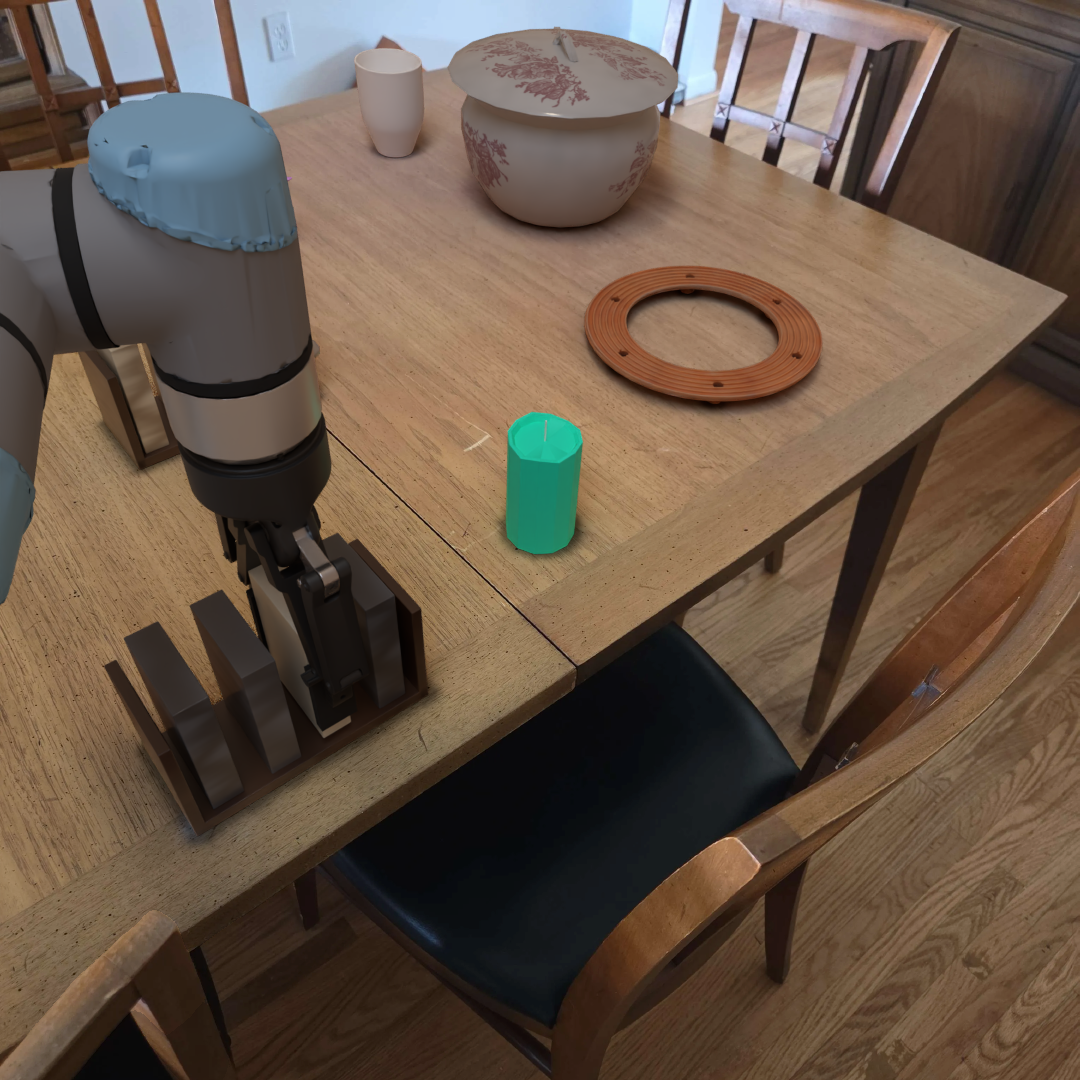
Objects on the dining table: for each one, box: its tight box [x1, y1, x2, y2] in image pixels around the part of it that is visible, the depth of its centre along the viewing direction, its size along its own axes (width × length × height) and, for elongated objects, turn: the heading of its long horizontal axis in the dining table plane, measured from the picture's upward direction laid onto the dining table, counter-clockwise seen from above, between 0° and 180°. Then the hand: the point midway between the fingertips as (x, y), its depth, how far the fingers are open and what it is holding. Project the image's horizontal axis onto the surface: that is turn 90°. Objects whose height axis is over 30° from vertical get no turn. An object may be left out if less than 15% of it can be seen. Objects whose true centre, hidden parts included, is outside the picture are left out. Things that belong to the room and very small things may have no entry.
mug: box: [353, 47, 425, 158], centre depth 128 cm, size 12×9×12 cm
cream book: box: [248, 565, 351, 738], centre depth 62 cm, size 2×7×11 cm, turn 39°
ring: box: [583, 265, 824, 405], centre depth 100 cm, size 25×25×2 cm
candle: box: [505, 411, 584, 555], centre depth 76 cm, size 6×6×12 cm
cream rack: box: [77, 343, 180, 471], centre depth 85 cm, size 18×8×12 cm, turn 129°
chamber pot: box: [447, 26, 679, 228], centre depth 115 cm, size 28×28×21 cm
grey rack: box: [103, 532, 429, 837], centre depth 62 cm, size 18×8×12 cm, turn 129°
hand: (308, 679), depth 65 cm, fingers closed on cream book, 7 cm apart
